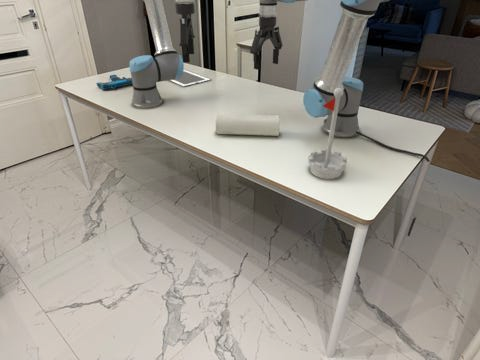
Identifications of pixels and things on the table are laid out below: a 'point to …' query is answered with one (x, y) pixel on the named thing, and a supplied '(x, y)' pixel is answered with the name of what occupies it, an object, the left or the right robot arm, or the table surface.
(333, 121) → the flag stand
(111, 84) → the submachine gun
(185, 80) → the tablet
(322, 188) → the table surface
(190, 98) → the table surface
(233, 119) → the white cylinder
